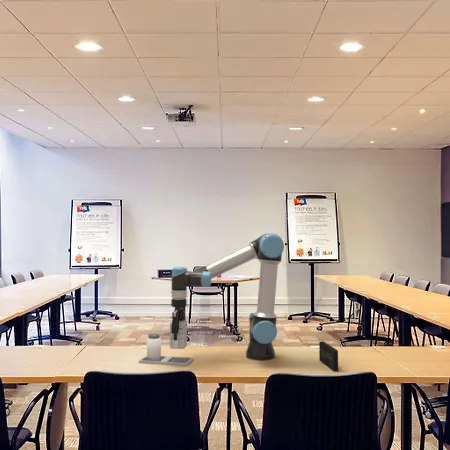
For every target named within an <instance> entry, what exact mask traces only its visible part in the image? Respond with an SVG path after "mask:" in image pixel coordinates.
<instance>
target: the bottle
mask: <svg viewBox="0 0 450 450" xmlns="http://www.w3.org/2000/svg"><path fill="white" fill-rule="evenodd" d="M146 356H147V361H161V356H162V337H161V336H160V333H149V334H148V335H147V337H146Z"/></svg>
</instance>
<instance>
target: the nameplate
mask: <svg viewBox="0 0 450 450" xmlns="http://www.w3.org/2000/svg"><path fill="white" fill-rule="evenodd" d="M318 343H319V347H318V348H319V351H318V353H319V357H318V358H319V359H318V360H319V362H320V363H322V364H323V365H325V366H326V367H327V368H329V370H331V371H333V372H338V371H339V351H338V349H336V348H335V347H334V346H332V345H330V344H328V343H327V342H325V340H324V341H323V340H321V341H319V342H318Z"/></svg>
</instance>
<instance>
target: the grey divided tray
mask: <svg viewBox="0 0 450 450" xmlns="http://www.w3.org/2000/svg"><path fill="white" fill-rule="evenodd" d="M193 361H194V357H186V356H170V355H161V361H147V355H145V356H144V357H142V358H140V359H139V360H138V364H144V365H145V364H147V365H159V366H161V365H164V366H176V367H178V366H180V367H188V366H189V365H190V364H191V363H192V362H193Z"/></svg>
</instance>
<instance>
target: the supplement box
mask: <svg viewBox="0 0 450 450" xmlns="http://www.w3.org/2000/svg"><path fill="white" fill-rule="evenodd" d="M187 326H188V320H185V321H180V322H179V330H178V333H179V347H173V333H171V331H172V321H171V322H170V323H169V349H173V350H176V349H177V350H185V348H186V347H187V346H188V345H187V344H188V343H187V341H188V337H187V335H188V334H187V333H188V331H187V329H188V327H187Z"/></svg>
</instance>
